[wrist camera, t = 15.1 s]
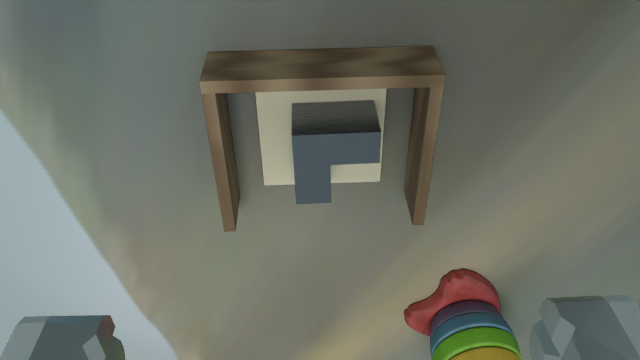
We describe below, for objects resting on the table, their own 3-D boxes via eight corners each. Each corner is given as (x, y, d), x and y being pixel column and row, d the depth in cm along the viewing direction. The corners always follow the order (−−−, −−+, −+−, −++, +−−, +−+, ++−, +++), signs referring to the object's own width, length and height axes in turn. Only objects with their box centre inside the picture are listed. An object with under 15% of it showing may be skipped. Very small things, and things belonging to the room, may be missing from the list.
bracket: (291, 103, 46) (291, 135, 42) (374, 99, 46) (381, 131, 42) (296, 168, 50) (296, 204, 46) (371, 165, 50) (377, 200, 46)
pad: (386, 75, 45) (387, 77, 45) (379, 178, 52) (379, 181, 51) (254, 78, 45) (254, 81, 44) (264, 182, 52) (264, 185, 51)
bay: (431, 45, 43) (445, 74, 40) (414, 189, 53) (423, 224, 49) (208, 52, 43) (199, 81, 39) (229, 195, 52) (224, 231, 48)
